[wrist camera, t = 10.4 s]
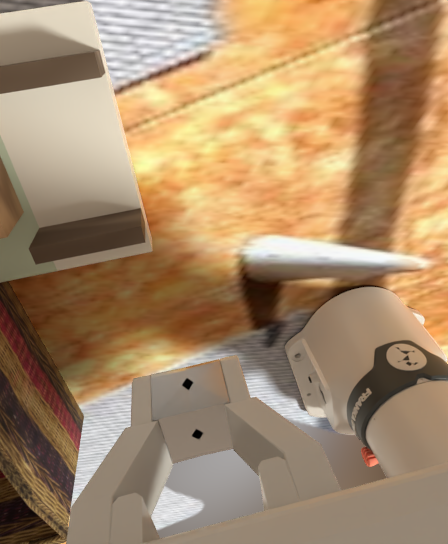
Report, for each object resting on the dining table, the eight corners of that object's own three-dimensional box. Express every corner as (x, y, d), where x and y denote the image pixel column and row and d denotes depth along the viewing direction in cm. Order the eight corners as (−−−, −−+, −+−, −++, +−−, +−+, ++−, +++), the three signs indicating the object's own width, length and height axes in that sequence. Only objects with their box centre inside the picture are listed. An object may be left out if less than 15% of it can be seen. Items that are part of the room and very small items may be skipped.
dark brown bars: (144, 223, 36) (145, 242, 33) (45, 242, 36) (35, 264, 32) (99, 49, 29) (94, 51, 26) (-28, 70, 28) (-50, 74, 25)
